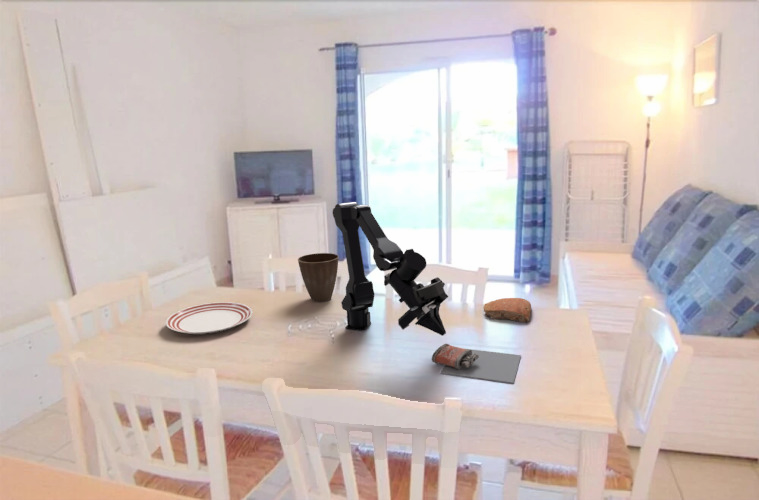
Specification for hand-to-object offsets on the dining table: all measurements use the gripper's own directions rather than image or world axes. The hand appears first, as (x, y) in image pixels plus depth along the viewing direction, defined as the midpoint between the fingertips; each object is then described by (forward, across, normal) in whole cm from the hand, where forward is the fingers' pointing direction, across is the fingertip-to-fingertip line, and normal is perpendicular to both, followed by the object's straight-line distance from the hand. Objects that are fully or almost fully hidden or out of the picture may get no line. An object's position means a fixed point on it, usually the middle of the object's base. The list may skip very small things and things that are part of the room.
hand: (444, 334), depth 133 cm
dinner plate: (-51, -11, +63) cm, 82 cm away
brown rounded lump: (+7, +42, +4) cm, 43 cm away
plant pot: (-40, +26, +51) cm, 70 cm away
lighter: (+3, 0, +5) cm, 6 cm away
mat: (+12, +3, -1) cm, 12 cm away
